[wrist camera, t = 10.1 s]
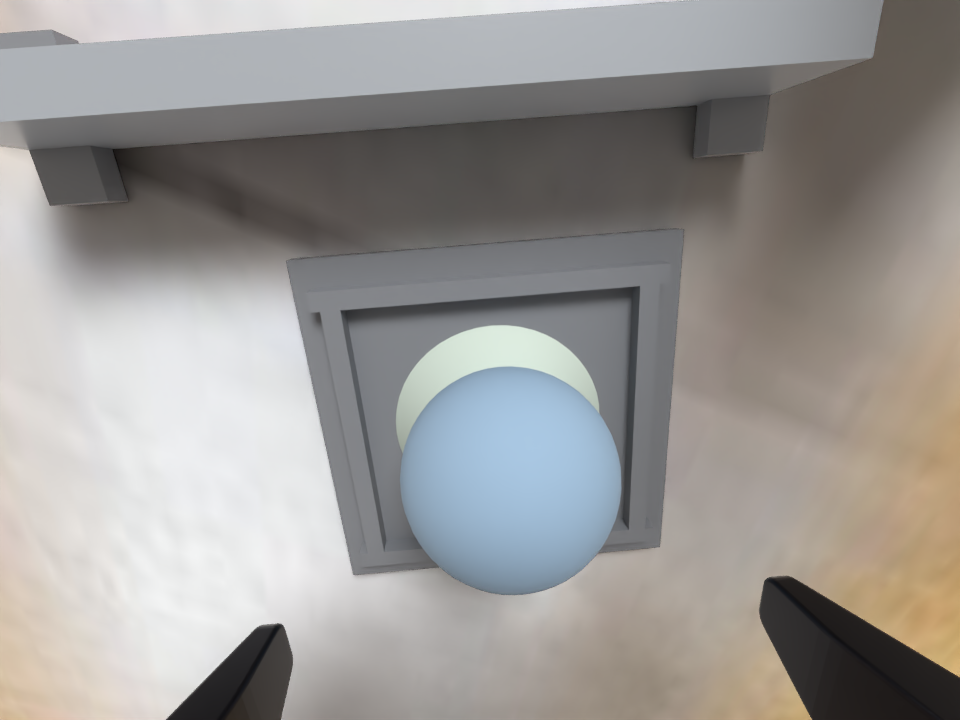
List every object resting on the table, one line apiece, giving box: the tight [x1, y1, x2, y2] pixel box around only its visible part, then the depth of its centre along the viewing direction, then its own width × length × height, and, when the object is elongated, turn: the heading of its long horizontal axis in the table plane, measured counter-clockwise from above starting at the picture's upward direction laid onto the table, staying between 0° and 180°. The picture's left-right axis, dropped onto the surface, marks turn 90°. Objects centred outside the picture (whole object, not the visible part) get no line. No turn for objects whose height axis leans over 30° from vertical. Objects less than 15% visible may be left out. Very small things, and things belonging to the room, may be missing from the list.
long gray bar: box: [0, 0, 884, 206], centre depth 11 cm, size 20×4×4 cm, turn 94°
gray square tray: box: [286, 228, 684, 575], centre depth 15 cm, size 12×12×1 cm
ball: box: [400, 366, 622, 595], centre depth 12 cm, size 6×6×6 cm
